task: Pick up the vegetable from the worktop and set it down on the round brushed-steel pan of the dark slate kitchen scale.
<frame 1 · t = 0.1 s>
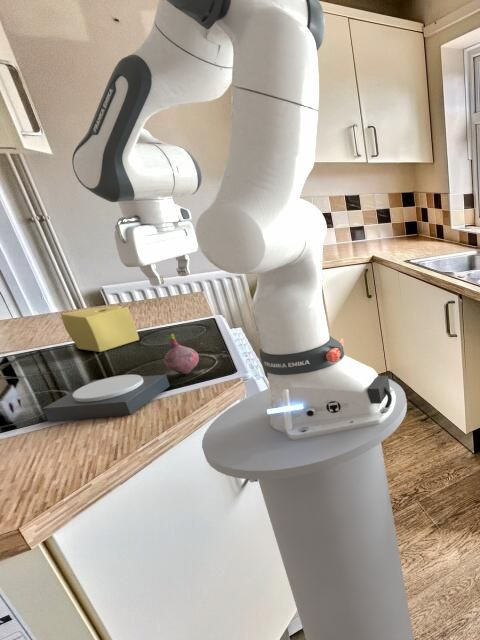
hand: (172, 280, 92), 21 cm above the worktop, tool pointing down, fingers open, 8 cm apart
vegetable: (186, 375, 96), on the worktop
scale: (113, 402, 84), on the worktop
cheese: (109, 345, 117), on the worktop
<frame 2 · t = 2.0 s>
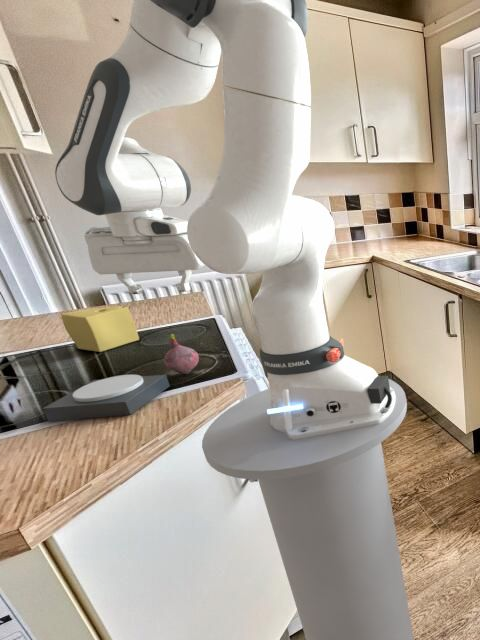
hand: (161, 292, 90), 19 cm above the worktop, tool pointing down, fingers open, 8 cm apart
nothing on the worktop moved.
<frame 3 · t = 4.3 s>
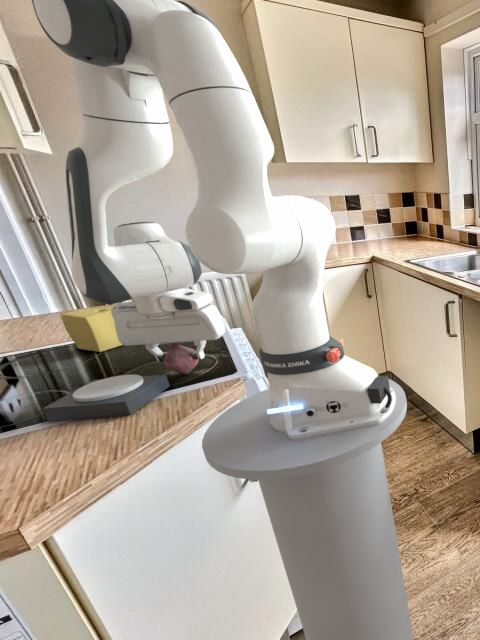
hand: (181, 359, 95), 4 cm above the worktop, tool pointing down, fingers closed on vegetable, 6 cm apart
vegetable: (186, 375, 96), on the worktop, touching gripper
everything else where it was.
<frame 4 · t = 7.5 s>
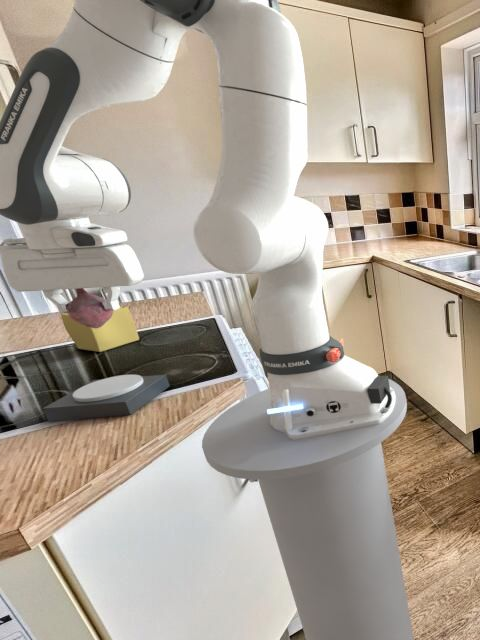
hand: (91, 311, 79), 19 cm above the worktop, tool pointing down, fingers closed on vegetable, 6 cm apart
vegetable: (98, 330, 81), point 15 cm above the worktop, touching gripper
everything else where it was.
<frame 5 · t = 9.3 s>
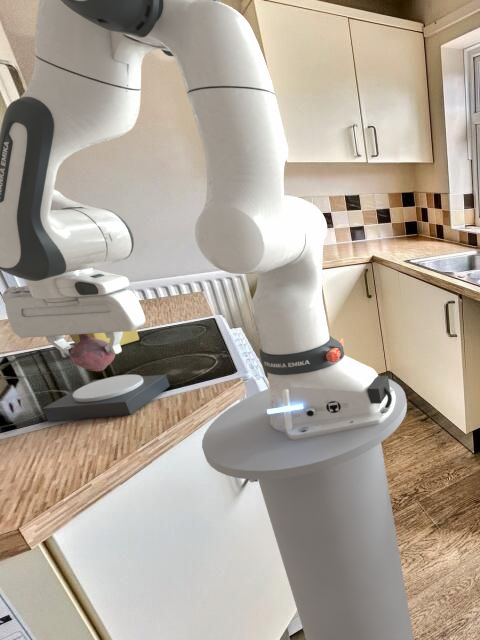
hand: (93, 354, 81), 10 cm above the worktop, tool pointing down, fingers closed on vegetable, 6 cm apart
vegetable: (100, 372, 82), point 7 cm above the worktop, touching gripper
everything else where it was.
when the fingers open (7 cm above the worktop, at t = 10.7 s): vegetable stays where it is, resting on scale.
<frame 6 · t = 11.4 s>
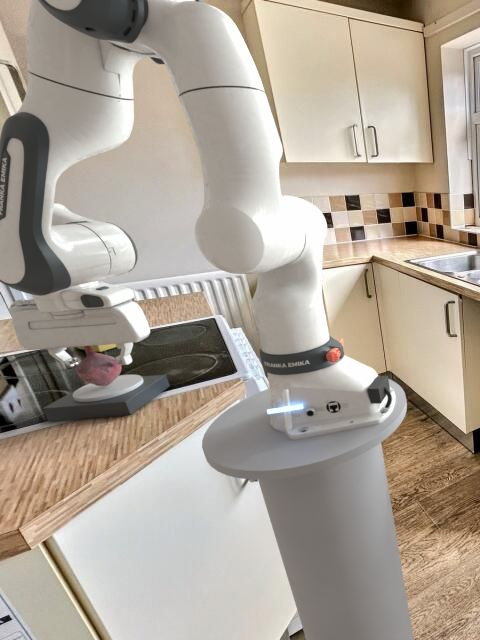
hand: (99, 365, 81), 8 cm above the worktop, tool pointing down, fingers open, 8 cm apart
vegetable: (107, 387, 83), point 3 cm above the worktop, touching scale
everything else where it was.
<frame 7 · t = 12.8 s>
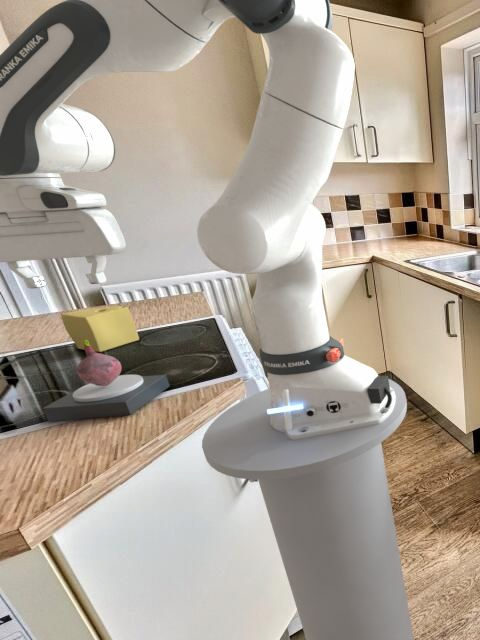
hand: (68, 285, 71), 25 cm above the worktop, tool pointing down, fingers open, 8 cm apart
nothing on the worktop moved.
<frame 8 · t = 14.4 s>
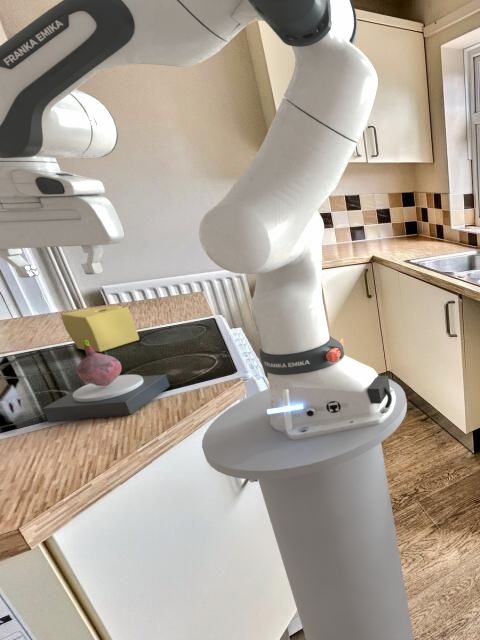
hand: (62, 275, 68), 27 cm above the worktop, tool pointing down, fingers open, 8 cm apart
nothing on the worktop moved.
at the end: vegetable inside the target area (0.1 cm from its centre), point 3.4 cm above the worktop; vegetable tilted 0°; the gripper is holding nothing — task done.
